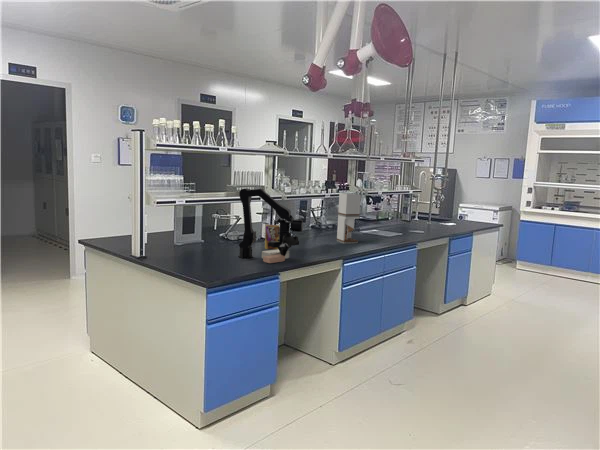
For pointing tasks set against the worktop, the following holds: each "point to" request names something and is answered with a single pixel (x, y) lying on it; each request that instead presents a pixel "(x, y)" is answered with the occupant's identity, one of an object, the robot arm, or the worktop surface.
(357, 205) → the tall white box
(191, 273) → the worktop surface
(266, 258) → the pink rectangular slab
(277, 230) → the candy box
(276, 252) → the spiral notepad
